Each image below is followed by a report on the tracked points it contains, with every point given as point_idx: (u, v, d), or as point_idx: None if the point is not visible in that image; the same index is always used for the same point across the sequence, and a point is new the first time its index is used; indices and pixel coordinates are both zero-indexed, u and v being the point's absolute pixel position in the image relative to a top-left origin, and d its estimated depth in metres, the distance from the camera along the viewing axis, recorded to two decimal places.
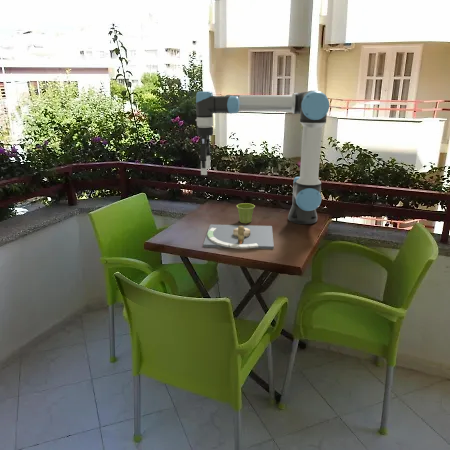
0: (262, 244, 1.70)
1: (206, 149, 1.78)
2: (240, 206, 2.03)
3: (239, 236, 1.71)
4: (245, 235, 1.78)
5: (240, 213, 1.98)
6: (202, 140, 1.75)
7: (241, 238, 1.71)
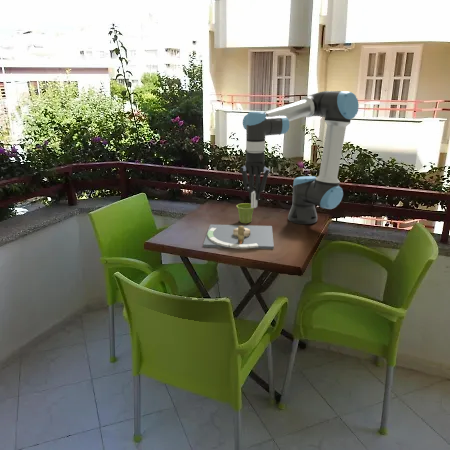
0: (262, 244, 1.70)
1: (249, 179, 1.61)
2: (240, 206, 2.03)
3: (239, 236, 1.71)
4: (245, 235, 1.78)
5: (240, 213, 1.98)
6: None
7: (241, 238, 1.71)
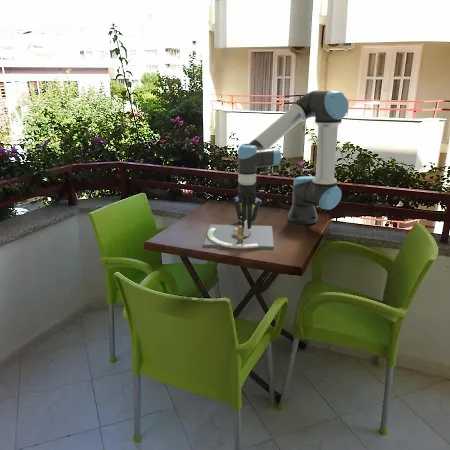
0: (262, 244, 1.70)
1: None
2: (240, 206, 2.03)
3: (238, 236, 1.71)
4: None
5: None
6: None
7: (240, 238, 1.71)
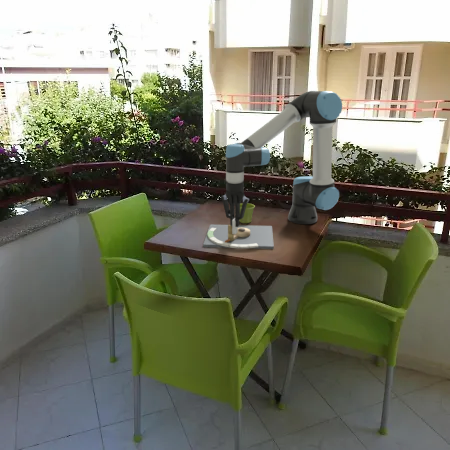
0: (262, 244, 1.70)
1: None
2: (240, 206, 2.03)
3: (228, 234, 1.73)
4: (240, 235, 1.78)
5: None
6: None
7: (229, 237, 1.73)
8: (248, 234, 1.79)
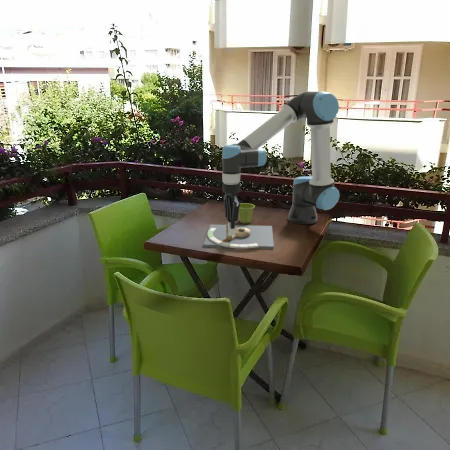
0: (262, 244, 1.70)
1: (227, 207, 1.68)
2: (240, 206, 2.03)
3: (226, 234, 1.74)
4: (240, 235, 1.78)
5: (240, 213, 1.98)
6: None
7: (227, 236, 1.73)
8: (247, 234, 1.78)
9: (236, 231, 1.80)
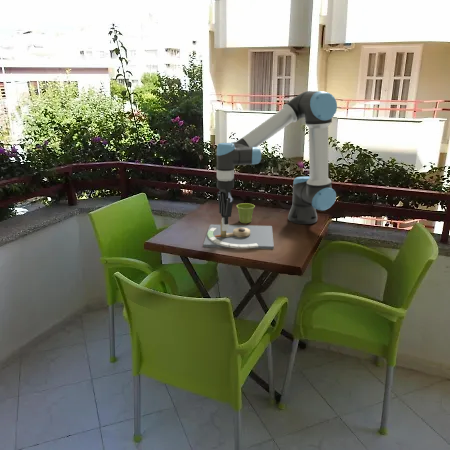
0: (262, 244, 1.70)
1: (221, 203, 1.73)
2: (240, 206, 2.03)
3: None
4: (236, 234, 1.79)
5: (240, 213, 1.98)
6: None
7: (221, 233, 1.78)
8: (244, 235, 1.78)
9: (235, 230, 1.81)
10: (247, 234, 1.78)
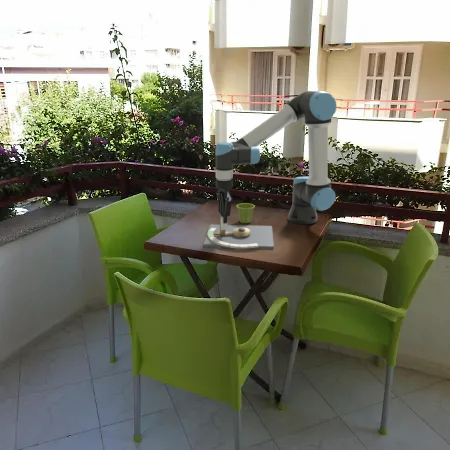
0: (262, 244, 1.70)
1: (220, 202, 1.75)
2: (240, 206, 2.03)
3: None
4: (234, 234, 1.79)
5: (240, 213, 1.98)
6: None
7: (220, 231, 1.80)
8: (242, 235, 1.77)
9: (236, 229, 1.82)
10: (245, 234, 1.78)
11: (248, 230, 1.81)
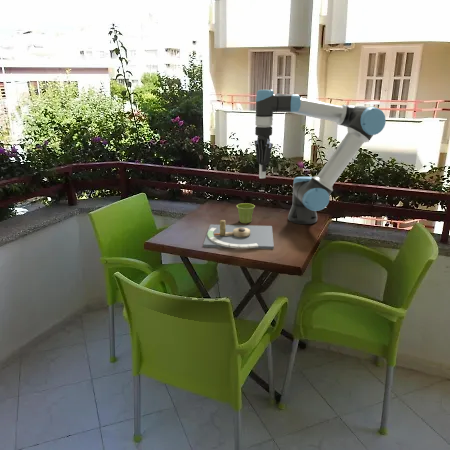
0: (262, 244, 1.70)
1: (258, 151, 1.78)
2: (240, 206, 2.03)
3: None
4: (234, 234, 1.79)
5: (240, 213, 1.98)
6: None
7: (220, 231, 1.79)
8: (242, 235, 1.77)
9: (236, 230, 1.82)
10: (246, 234, 1.78)
11: (248, 230, 1.81)
